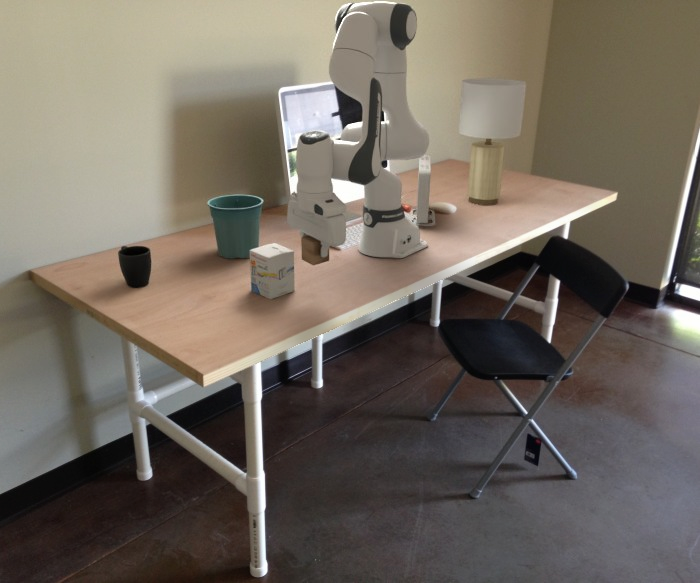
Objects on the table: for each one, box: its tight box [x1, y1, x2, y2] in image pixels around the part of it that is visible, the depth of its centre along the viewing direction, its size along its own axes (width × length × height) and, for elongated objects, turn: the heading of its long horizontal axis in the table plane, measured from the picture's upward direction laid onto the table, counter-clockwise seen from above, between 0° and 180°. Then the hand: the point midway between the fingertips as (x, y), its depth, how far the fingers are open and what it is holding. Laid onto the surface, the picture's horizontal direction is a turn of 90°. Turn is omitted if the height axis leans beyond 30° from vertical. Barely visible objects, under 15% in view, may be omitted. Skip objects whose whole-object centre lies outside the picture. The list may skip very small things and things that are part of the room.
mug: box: [117, 245, 152, 289], centre depth 183 cm, size 8×12×10 cm
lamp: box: [458, 77, 527, 206], centre depth 253 cm, size 23×23×44 cm
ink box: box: [249, 242, 296, 300], centre depth 178 cm, size 9×8×12 cm
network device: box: [409, 154, 436, 227], centre depth 237 cm, size 26×9×20 cm, turn 175°
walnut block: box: [300, 235, 330, 267], centre depth 171 cm, size 5×5×6 cm
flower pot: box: [207, 194, 264, 260], centre depth 203 cm, size 16×16×16 cm
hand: (315, 252), depth 172 cm, fingers closed on walnut block, 5 cm apart
